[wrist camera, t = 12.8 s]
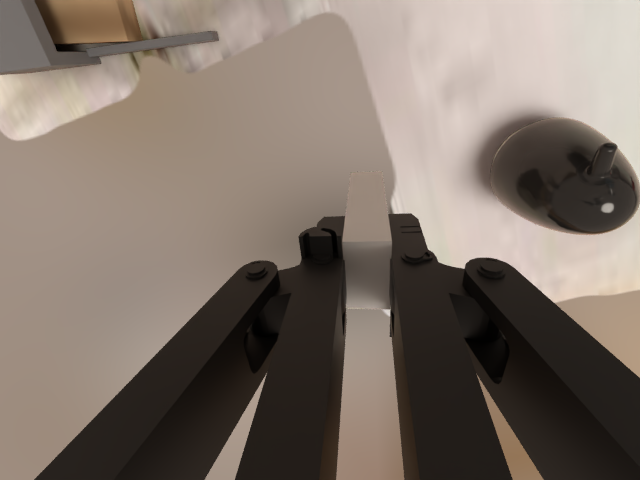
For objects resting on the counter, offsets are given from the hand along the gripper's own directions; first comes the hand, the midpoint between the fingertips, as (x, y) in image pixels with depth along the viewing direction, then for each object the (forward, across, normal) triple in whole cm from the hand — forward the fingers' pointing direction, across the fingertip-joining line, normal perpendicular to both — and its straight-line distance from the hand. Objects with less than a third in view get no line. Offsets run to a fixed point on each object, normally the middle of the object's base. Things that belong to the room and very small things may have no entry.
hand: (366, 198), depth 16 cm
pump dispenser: (+25, +18, -6) cm, 31 cm away
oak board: (+25, -32, +12) cm, 42 cm away
